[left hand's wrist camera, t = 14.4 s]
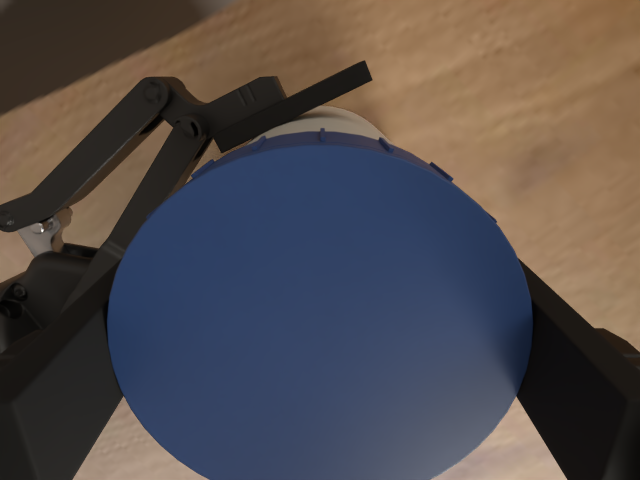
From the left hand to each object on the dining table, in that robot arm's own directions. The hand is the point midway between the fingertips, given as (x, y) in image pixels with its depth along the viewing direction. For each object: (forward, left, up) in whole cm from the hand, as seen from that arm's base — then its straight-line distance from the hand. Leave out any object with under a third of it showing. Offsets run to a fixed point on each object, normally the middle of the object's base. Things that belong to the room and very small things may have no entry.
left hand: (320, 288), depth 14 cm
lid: (0, 0, +3) cm, 3 cm away
